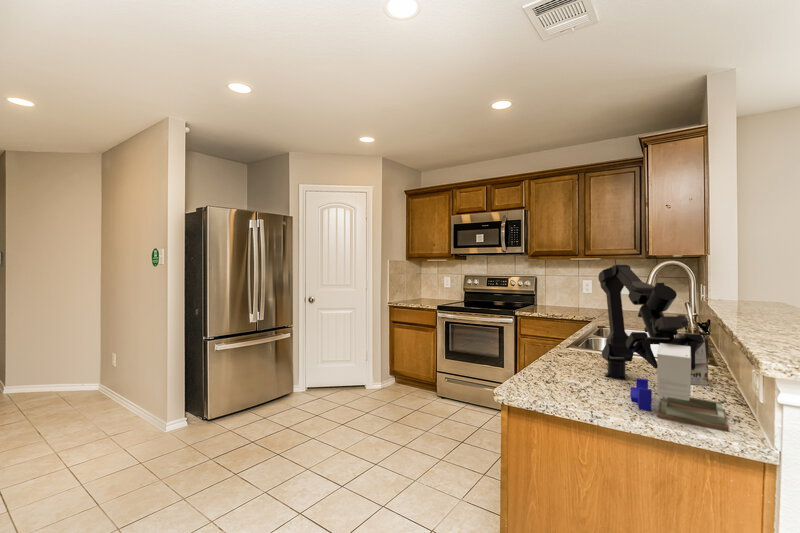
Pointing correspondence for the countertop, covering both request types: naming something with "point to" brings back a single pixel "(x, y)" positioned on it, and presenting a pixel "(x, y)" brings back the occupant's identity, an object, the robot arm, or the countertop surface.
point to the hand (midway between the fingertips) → (675, 368)
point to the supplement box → (674, 371)
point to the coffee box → (700, 363)
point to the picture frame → (694, 412)
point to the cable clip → (642, 394)
